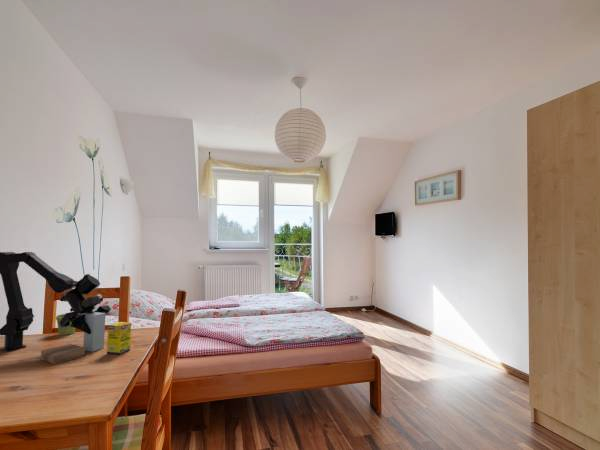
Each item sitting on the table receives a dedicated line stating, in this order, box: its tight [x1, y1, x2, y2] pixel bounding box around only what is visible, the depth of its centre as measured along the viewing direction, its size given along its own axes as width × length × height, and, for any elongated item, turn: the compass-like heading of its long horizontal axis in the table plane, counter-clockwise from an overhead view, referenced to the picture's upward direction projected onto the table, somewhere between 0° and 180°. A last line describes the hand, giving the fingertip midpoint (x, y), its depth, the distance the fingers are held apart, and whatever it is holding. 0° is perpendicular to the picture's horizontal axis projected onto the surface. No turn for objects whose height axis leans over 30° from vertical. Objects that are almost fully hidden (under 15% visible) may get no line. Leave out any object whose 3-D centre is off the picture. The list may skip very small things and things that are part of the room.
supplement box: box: [106, 321, 132, 355], centre depth 130 cm, size 6×6×11 cm
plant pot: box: [54, 313, 76, 336], centre depth 156 cm, size 9×9×9 cm
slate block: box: [82, 312, 106, 353], centre depth 133 cm, size 5×5×14 cm
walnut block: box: [40, 343, 86, 365], centre depth 123 cm, size 10×10×3 cm
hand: (96, 331), depth 133 cm, fingers closed on slate block, 5 cm apart
